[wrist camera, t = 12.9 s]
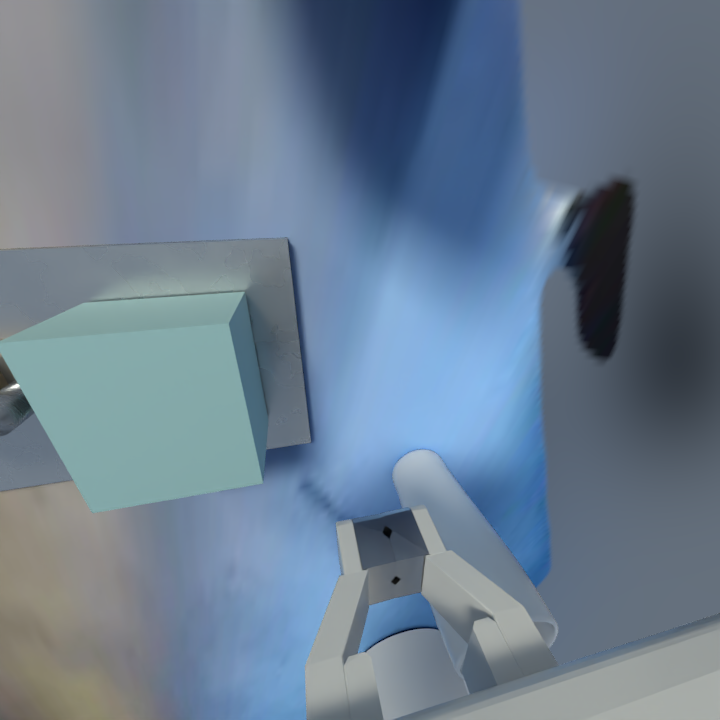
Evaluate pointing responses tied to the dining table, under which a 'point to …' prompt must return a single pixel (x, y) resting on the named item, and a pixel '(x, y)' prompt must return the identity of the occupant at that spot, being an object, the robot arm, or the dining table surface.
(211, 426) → the cover
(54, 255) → the base
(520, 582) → the drinking glass
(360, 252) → the dining table surface
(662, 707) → the robot arm
